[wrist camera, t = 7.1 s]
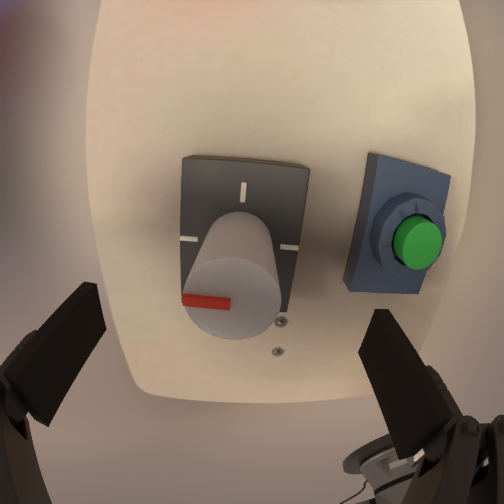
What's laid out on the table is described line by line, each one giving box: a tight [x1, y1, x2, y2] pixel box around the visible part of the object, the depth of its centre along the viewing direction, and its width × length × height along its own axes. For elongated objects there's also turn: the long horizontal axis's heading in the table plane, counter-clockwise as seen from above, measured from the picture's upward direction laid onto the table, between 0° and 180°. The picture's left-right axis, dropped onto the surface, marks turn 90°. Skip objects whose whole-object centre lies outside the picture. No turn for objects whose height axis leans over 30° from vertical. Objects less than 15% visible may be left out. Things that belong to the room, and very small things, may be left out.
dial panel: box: [180, 155, 310, 312], centre depth 22 cm, size 12×9×3 cm
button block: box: [343, 153, 451, 294], centre depth 21 cm, size 12×8×4 cm, turn 175°
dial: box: [182, 212, 281, 339], centre depth 17 cm, size 5×5×8 cm
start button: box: [393, 216, 442, 270], centre depth 19 cm, size 4×4×2 cm
